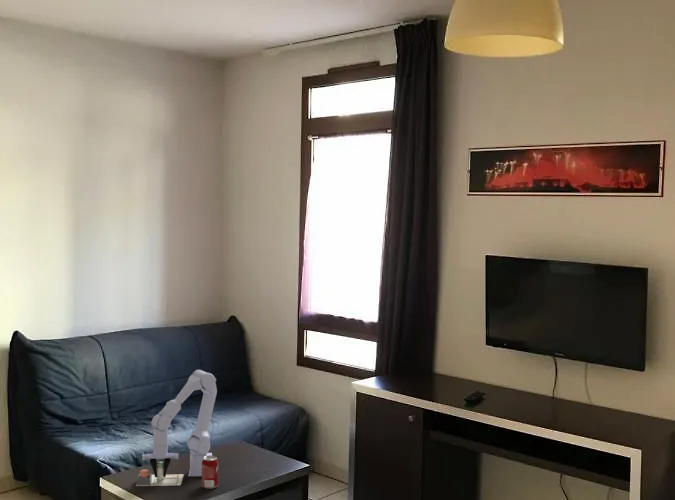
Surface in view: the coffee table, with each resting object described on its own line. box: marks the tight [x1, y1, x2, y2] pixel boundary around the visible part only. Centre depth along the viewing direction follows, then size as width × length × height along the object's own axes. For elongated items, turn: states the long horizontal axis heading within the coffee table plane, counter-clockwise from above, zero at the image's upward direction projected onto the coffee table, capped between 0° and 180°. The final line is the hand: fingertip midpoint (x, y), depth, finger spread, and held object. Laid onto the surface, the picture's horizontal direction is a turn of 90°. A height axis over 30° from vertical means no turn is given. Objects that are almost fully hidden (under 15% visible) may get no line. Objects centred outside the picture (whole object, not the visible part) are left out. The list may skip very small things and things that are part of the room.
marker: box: [157, 461, 164, 482], centre depth 316 cm, size 3×3×8 cm
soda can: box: [201, 455, 219, 490], centre depth 312 cm, size 7×7×12 cm
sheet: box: [135, 473, 185, 487], centre depth 318 cm, size 18×13×1 cm
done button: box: [139, 469, 150, 478], centre depth 314 cm, size 4×4×4 cm
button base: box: [136, 473, 153, 485], centre depth 314 cm, size 5×5×3 cm
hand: (160, 476), depth 316 cm, fingers closed on marker, 3 cm apart
